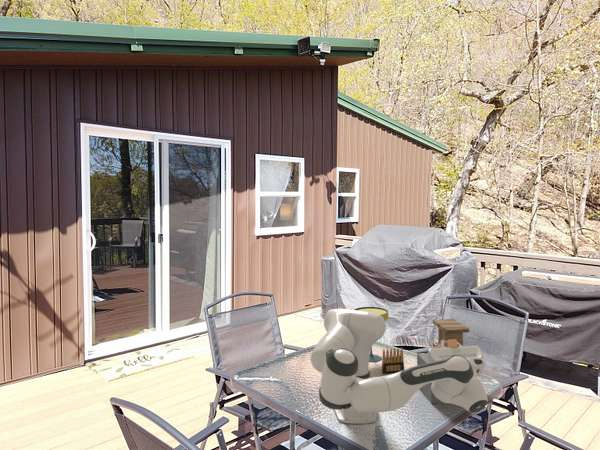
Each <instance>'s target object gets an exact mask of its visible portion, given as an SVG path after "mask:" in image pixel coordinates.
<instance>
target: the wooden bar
mask: <svg viewBox="0 0 600 450" xmlns="http://www.w3.org/2000/svg"><path fill="white" fill-rule="evenodd" d="M441 347H442V345H441V344H439V345H438V344H437V345H434V346H433V347H431V348H441ZM445 347H446V348H449V347H450V348H452V347H458V345H457V340H456V339H449V340H447V341H446V346H445ZM431 348H428V349H427V350H429V349H431Z"/></svg>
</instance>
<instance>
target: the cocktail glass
mask: <svg viewBox="0 0 600 450" xmlns="http://www.w3.org/2000/svg"><path fill="white" fill-rule="evenodd" d="M354 310H360V311H368V312H373V313H376V314H379V315H381V316H382V317H383V318H384V320H385V322H386V321H387V320H388V319H389V311H388V309H386V308H383V307H382V308H381V307H378V306H363V307H362V306H361V307H357V308H354ZM382 357H383V356H380V355H379V354H374V353H373V346H372V347H371V350H370V353H369V363H377V362H380V361H381V360H382Z"/></svg>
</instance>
